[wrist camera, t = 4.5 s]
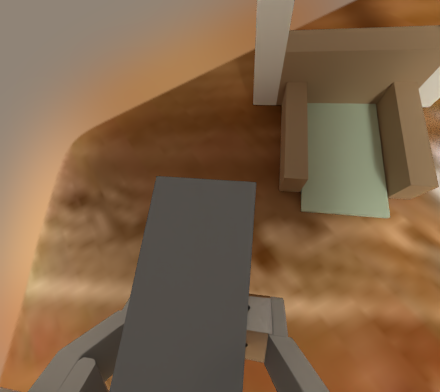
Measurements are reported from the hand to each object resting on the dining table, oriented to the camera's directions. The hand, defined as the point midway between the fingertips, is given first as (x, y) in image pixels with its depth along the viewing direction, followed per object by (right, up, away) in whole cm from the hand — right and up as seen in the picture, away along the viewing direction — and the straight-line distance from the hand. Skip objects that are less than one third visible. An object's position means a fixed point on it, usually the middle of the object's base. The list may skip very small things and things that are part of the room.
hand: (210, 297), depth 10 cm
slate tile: (+1, -2, +5) cm, 6 cm away
